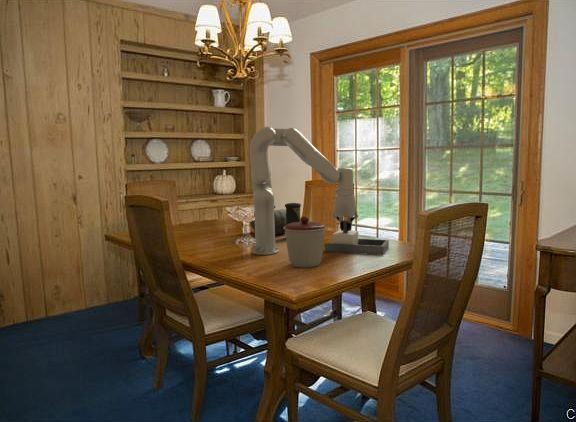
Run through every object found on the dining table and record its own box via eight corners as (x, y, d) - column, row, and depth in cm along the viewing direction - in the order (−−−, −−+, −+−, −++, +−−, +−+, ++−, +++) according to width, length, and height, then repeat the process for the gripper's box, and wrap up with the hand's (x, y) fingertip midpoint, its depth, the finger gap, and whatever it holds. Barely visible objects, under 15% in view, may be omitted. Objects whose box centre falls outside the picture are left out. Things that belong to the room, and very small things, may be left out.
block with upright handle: (352, 249, 213) (352, 222, 211) (332, 248, 217) (332, 221, 215) (358, 245, 223) (358, 219, 221) (338, 243, 227) (338, 218, 225)
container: (301, 239, 247) (301, 203, 245) (285, 239, 247) (284, 203, 245) (301, 236, 256) (300, 201, 253) (285, 236, 256) (285, 202, 253)
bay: (383, 255, 205) (383, 246, 205) (324, 251, 216) (324, 243, 215) (388, 248, 220) (388, 240, 220) (333, 244, 230) (333, 237, 230)
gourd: (289, 233, 251) (284, 203, 252) (247, 239, 257) (242, 210, 257) (297, 230, 276) (293, 202, 276) (259, 236, 281) (255, 209, 281)
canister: (275, 265, 190) (274, 216, 187) (304, 258, 203) (303, 212, 200) (306, 273, 177) (305, 220, 175) (335, 264, 190) (335, 215, 187)
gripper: (327, 193, 216) (327, 231, 218) (359, 194, 210) (360, 232, 212) (331, 192, 223) (331, 228, 225) (363, 192, 217) (363, 229, 219)
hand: (345, 230), depth 219 cm, fingers closed on block with upright handle, 2 cm apart
